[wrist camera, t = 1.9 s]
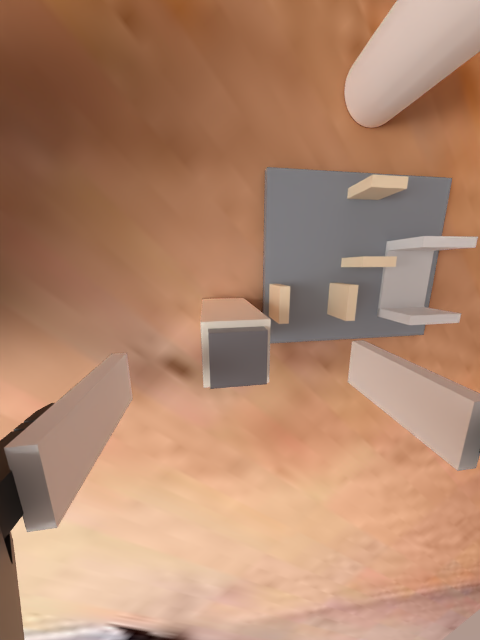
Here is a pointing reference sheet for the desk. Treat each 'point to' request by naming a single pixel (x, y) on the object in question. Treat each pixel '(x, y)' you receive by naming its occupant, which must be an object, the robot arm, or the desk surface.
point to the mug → (410, 56)
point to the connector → (234, 343)
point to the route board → (352, 253)
